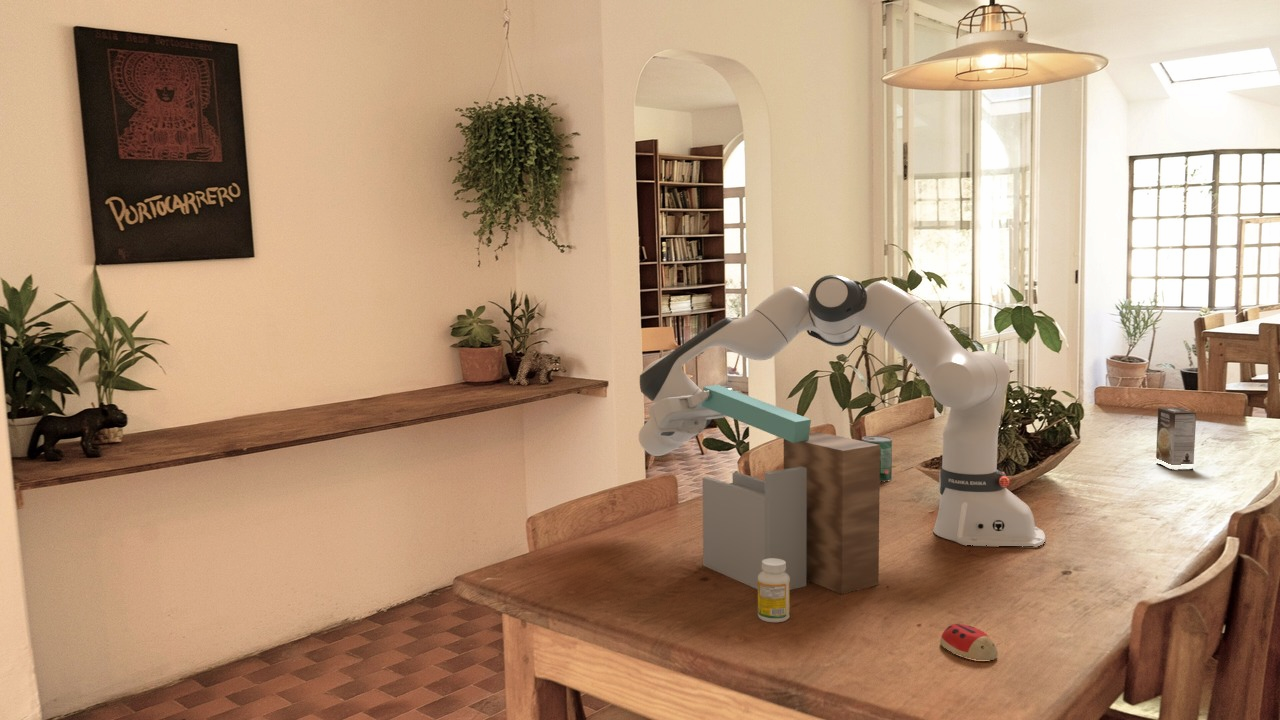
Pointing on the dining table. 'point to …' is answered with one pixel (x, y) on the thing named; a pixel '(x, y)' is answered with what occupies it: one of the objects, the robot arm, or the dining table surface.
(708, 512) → the grey boxy piece
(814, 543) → the stand
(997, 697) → the dining table surface
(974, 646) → the ladybug figurine
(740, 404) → the teal square bar
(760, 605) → the supplement bottle
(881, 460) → the canned tomato
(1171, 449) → the coffee box
